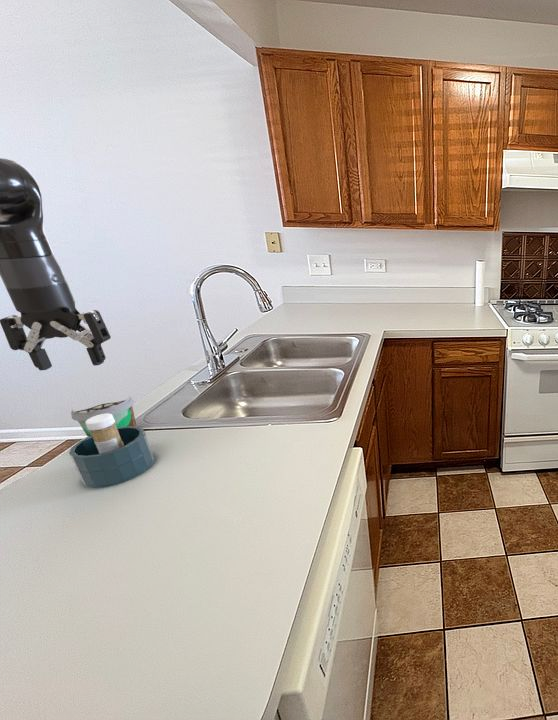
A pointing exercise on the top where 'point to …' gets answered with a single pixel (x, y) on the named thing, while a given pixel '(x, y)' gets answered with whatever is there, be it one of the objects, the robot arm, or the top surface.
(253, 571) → the top surface
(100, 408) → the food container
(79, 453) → the pot
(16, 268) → the robot arm
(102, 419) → the sprinkles bottle
